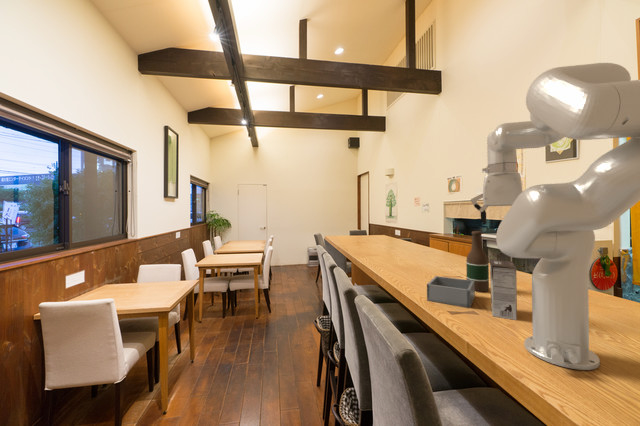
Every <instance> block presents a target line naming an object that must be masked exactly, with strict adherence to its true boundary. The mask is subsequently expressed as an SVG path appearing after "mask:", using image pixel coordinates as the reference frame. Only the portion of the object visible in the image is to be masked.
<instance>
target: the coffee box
mask: <svg viewBox="0 0 640 426" xmlns="http://www.w3.org/2000/svg"><path fill="white" fill-rule="evenodd" d="M489 269H490V270H489V271H490V272H489V275H490V276H489V287H490V306H491V307H490V308H491V315H492V317H496V318H501V319H509V320H514V321H517V320H518V312H517V311H518V310H517V309H518V305H517V303H518V302H517V301H518V299H517V297H518V293H517V290H518V287H517V266H516V265H515V264H514V262H513V261H510V260H509V261H508V260H499V259H498V260H497V259H490V260H489Z"/></svg>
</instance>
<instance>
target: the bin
mask: <svg viewBox="0 0 640 426" xmlns="http://www.w3.org/2000/svg"><path fill="white" fill-rule="evenodd" d="M475 293H476V292H475V285H474V281H472V280H467V279H464V278H463V279H461V278H454V277H445V276H439V275H435V276H434V277H433V278H431V280H430V281H429V282H427V284H426V300H427V301H428V302H433V303H439V304H446V305H450V306H455V307H462V308H466V309H471V307H472V305H473V302H474V299H475V295H476V294H475Z"/></svg>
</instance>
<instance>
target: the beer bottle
mask: <svg viewBox="0 0 640 426" xmlns="http://www.w3.org/2000/svg"><path fill="white" fill-rule="evenodd" d="M482 234H483V232H482V231H480V230H473V231H471V249H470V251H469V253H468V254H467V256H466V260H465V261H466V263H465V264H466V280H472V281H474V285H475V291H476V292H475V293H486V292H489V289H490V276H489V275H490V272H489V271H490V270H489V269H490V262H489V258H488V255H487V254H486V252H485V251H484V248H483V240H482V239H483V237H482Z"/></svg>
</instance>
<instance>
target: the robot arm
mask: <svg viewBox="0 0 640 426" xmlns="http://www.w3.org/2000/svg"><path fill="white" fill-rule="evenodd" d="M525 106H526V108H527V110H528V112H529V118H530V120H528V121H517V122H505V123H501V124H499V125H498V126H497V127H496V128H494V130H493V131H492V132H490V133H489V134H488V135H487V138H486V145H487V146H486V147H487V148H486V151H487V153H486V154H487V155H486V157H487V166H486V167H485V168H482V169H481V170H482V173H485V174H487V175H485V176H484V179H483V188H482V193H480V194H478V195H476V196H474V197H473V198H471V199H470V202H471V204H472V205H473V207H474V208H475V209H476V210H478V211H479V212H480V222H481V223H482V225H486V224H487V212H486V210H487V209H488V208H489V207H503V206H504V207H507V206H508V207H509V206H510V207H509V209H508V211H507V212H506V213H505V215H504V217H503V218H502V220H501V221H500V223H499V225H498V228H497V231H496V235H495V241H496V245H497V248H498V249H499V250H500V252H501V253H502V254H504V255H506V256H507V257H510V258H514V259H515V258H516V259H540V260H539V261H538V262H537V264H536V265H535V267H534V268H533V271H532V274H531V308H532V310H531V311H532V313H531V314H532V315H531V316H532V317H531V318H532V319H531V320H532V321H531V322H532V325H531V326H532V336H529V337H527V338H525V340H524V348H525V349H526V350H527V351H528V352H529V353H530V354H532V355H533V356H535V357H537V358H539V359H540V360H543V361H545V362H548V363H550V364H553V365H556V366H560V367H562V368H567V369H572V370H578V371H591V370H596V369H597V368H599V367H600V364H601V363H600V362H601V361H600V357H599V356H598V355H597V354H596V353H594V351H592V350H590V326H589V325H590V324H589V322H590V321H589V320H590V319H589V318H590V317H589V313H590V311H589V289H590V288H589V273H590V265H591V259H592V254H593V250H594V247H595V242H596V235H595V232H594V231H597V230H598V231H599V230H601V229H605V228H607V227H608V226H610V225H611V224H612V223H614V222H616V221H617V219H619V218H620V217H621V216H622V215H623V214H625V213H626V212H627V211H628V210H629V211H630V209H631V208H632V207H634V206H635V205H636V204H637V203H638V202H640V79H636V80H635V79H634V80H631V74H630V72H629V71H628V70H627V69H626V67H624V66H623V65H621V64H617V63H612V62H596V63H595V62H594V63H587V64H586V63H585V64H575V65H565V66H559V67H552V68H549V69H547V70H545V71H544V72H542V73H541V74H539V75H538V76H537V77H536V78H535V79H534V80H533V81H532V82H531V84H530V86H529V88H528V89H527V92H526V97H525ZM564 138H567V139H572V140H575V141H576V140H577V141H578V140H579V141H585V140H586V141H589V140H607V139H621V138H629V139H628V140H626V141H625V142H623V143H622V144H620V145H618V146H616V147H614V148H612V149H610V150H608V151H607V152H605V153H604V154H602V155H601V156H599V157H598V158H597V159H595V160H594V161H593V162H592V163H591V164H590V165H589V167H588V168H587V169H586V170H585V171H584V172H583V174H581V176H579V177H578V178H577V179H575V180H574V181H569V182H561V183H559V182H558V183H542V184H536V185H533V186H529V187H528V188H526V189H524V190H523V184H522V178H521V174H520V172H517V150H524V149H525V150H526V149H539V148H544V147H547V146H550V145H552V144H554V143H557V142H559V141H561V140H563V139H564ZM481 199H482V204H483V205H482V206H481V205H480V204H479V203H478V201H479V200H481Z"/></svg>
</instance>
